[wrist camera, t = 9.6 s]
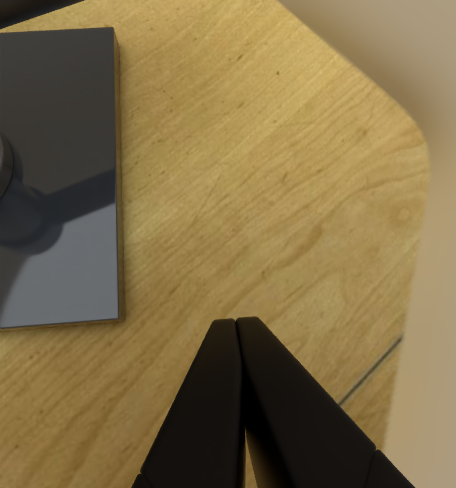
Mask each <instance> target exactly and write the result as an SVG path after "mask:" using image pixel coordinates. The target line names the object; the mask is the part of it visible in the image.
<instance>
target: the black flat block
mask: <svg viewBox="0 0 456 488" xmlns="http://www.w3.org/2000/svg"><path fill="white" fill-rule="evenodd" d="M124 321H125V298H124V253H123V209H122V165H121V120H120V76H119V43H118V40H117V37H116V34H115V31H114V28H113V27H102V28H84V29H65V30H46V31H27V32H8V33H0V332H6V331H18V330H30V329H42V328H54V327H66V326H78V325H90V324H102V323H115V322H124Z"/></svg>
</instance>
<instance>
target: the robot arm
mask: <svg viewBox="0 0 456 488" xmlns="http://www.w3.org/2000/svg"><path fill="white" fill-rule="evenodd" d="M245 431H246V438H247V443H248V448H249V453H250V457H251V461H252V466H253V470H254V474H255V478H256V483H257V487H258V488H415V487H414V486H413V485H412V484H411V483H410V482H409V481H408V480H407V479H406V478H405V477H404V476H403V474H402V473H401V472H400V471H399V470H398V469H397V468H396V467H395V466H394V465H393V464H392V463H391V462H390V461H389V459H388V458H387V457H386V456H385V455H384V454H383V453H382V452H381V451H380V450H376V446H375V444H374V443H373V442H372V441H371V440H370V439H369V438H368V437H367V436H366V434H365V433H364V432H363V431H362V430H361V429H360V428H359V427H358V426H357V425H356V424H355V422H354V421H353V420H352V419H351V418H350V417H349V416H348V415H347V414H346V413H345V412H344V410H343V409H342V408H341V407H340V406H339V405H338V404H337V403H336V402H335V401H334V400H333V398H332V397H331V396H330V395H329V394H328V393H327V392H326V391H325V390H324V389H323V388H322V386H321V385H320V384H319V383H318V382H317V381H316V380H315V379H314V378H313V377H312V376H311V374H310V373H309V372H308V371H307V370H306V369H305V368H304V367H303V366H302V365H301V364H300V362H299V361H298V360H297V359H296V358H295V357H294V356H293V355H292V354H291V353H290V352H289V350H288V349H287V348H286V347H285V346H284V345H283V344H282V343H281V342H280V341H279V340H278V338H277V337H276V336H275V335H274V334H273V333H272V332H271V331H270V330H269V329H268V327H267V326H266V325H265V324H264V323H263V322H262V321H261V320H260V319H259V318H258V317H255V316H253V317H242V318H238V319H237V320H236V322H235V320H234V319H232V318H230V319H219V320H214V321H213V322H212V324H211V326H210V328H209V330H208V332H207V334H206V336H205V338H204V340H203V342H202V344H201V346H200V348H199V350H198V352H197V354H196V356H195V358H194V360H193V362H192V365H191V367H190V369H189V371H188V373H187V375H186V377H185V379H184V381H183V383H182V385H181V387H180V389H179V391H178V393H177V395H176V397H175V399H174V401H173V404H172V406H171V408H170V410H169V412H168V414H167V416H166V418H165V420H164V422H163V424H162V426H161V428H160V430H159V432H158V434H157V436H156V438H155V440H154V443H153V445H152V447H151V449H150V451H149V453H148V455H147V457H146V459H145V461H144V463H143V465H142V467H141V469H140V473H141V474H138V475H137V477H136V479H135V481H134V483H133V485H132V487H131V488H245V469H246V442H245Z"/></svg>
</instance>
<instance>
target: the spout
mask: <svg viewBox="0 0 456 488" xmlns="http://www.w3.org/2000/svg"><path fill="white" fill-rule="evenodd" d="M81 1H84V0H0V29H2V28H5V27H8V26H11V25H14V24H17V23H20V22H23V21H26V20H29V19H31V18H34V17H37V16H40V15H43V14H46V13H49V12H52V11H55V10H58V9H61V8H64V7H67V6H69V5H72V4H75V3H78V2H81Z"/></svg>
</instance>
